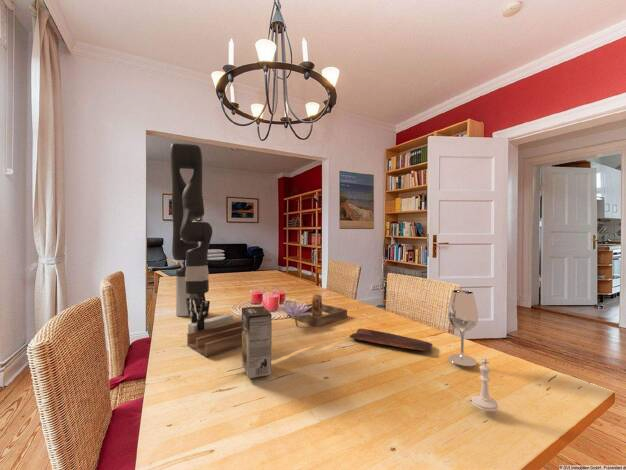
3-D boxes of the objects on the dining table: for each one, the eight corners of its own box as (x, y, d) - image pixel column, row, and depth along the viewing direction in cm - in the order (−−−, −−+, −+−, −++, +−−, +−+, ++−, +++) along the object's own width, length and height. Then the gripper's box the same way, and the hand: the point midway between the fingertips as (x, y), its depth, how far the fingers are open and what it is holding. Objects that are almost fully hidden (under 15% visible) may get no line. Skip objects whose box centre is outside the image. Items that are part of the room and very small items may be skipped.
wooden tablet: (434, 339, 99) (429, 346, 90) (433, 346, 99) (429, 353, 90) (358, 327, 112) (348, 332, 104) (358, 333, 112) (347, 338, 103)
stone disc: (319, 321, 124) (319, 297, 124) (310, 321, 125) (310, 297, 125) (323, 314, 135) (323, 292, 135) (315, 314, 135) (315, 292, 135)
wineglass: (474, 357, 89) (475, 290, 89) (480, 368, 82) (480, 295, 81) (446, 353, 91) (446, 288, 91) (448, 364, 84) (449, 293, 84)
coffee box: (241, 364, 84) (241, 307, 84) (263, 360, 86) (263, 305, 86) (247, 379, 76) (247, 315, 75) (272, 374, 78) (272, 313, 78)
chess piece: (467, 398, 67) (467, 354, 67) (488, 397, 67) (488, 353, 67) (480, 411, 62) (481, 363, 62) (503, 410, 62) (503, 363, 62)
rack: (187, 345, 98) (187, 333, 98) (240, 331, 112) (240, 320, 112) (206, 357, 88) (206, 344, 88) (262, 340, 103) (262, 328, 103)
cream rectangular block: (188, 341, 102) (188, 324, 102) (226, 329, 115) (226, 313, 115) (194, 343, 100) (194, 326, 100) (232, 331, 113) (232, 315, 113)
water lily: (319, 322, 123) (319, 300, 123) (306, 334, 109) (306, 309, 109) (286, 319, 128) (286, 298, 128) (270, 330, 114) (270, 306, 114)
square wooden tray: (287, 317, 130) (287, 309, 130) (316, 309, 143) (316, 302, 143) (318, 327, 117) (318, 318, 117) (347, 317, 130) (347, 309, 130)
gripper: (178, 279, 106) (178, 328, 105) (195, 281, 96) (196, 335, 95) (198, 277, 112) (199, 323, 111) (217, 278, 102) (218, 330, 101)
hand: (197, 328), depth 103 cm, fingers open, 4 cm apart
